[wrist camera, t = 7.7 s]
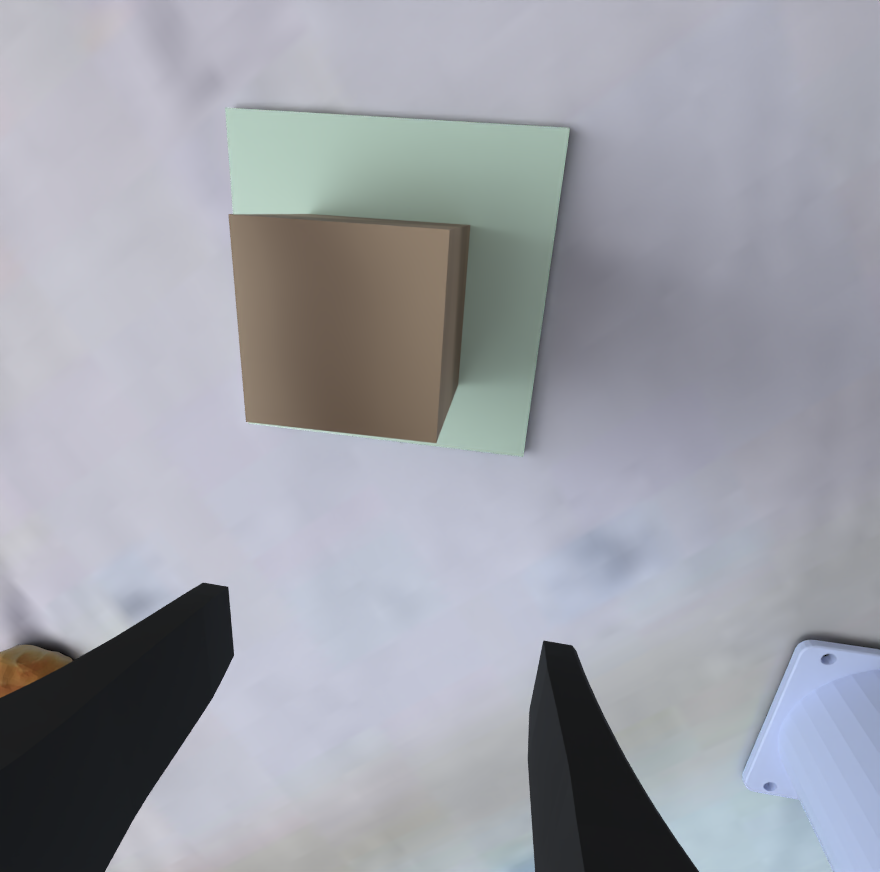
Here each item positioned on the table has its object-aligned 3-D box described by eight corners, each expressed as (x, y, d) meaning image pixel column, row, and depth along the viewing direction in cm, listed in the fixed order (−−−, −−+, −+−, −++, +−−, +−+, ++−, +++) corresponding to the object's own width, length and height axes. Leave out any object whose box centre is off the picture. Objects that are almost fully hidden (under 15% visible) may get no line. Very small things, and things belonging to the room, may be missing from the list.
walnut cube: (470, 224, 16) (449, 229, 12) (458, 385, 18) (436, 443, 14) (309, 213, 17) (228, 214, 12) (314, 370, 19) (246, 422, 14)
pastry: (-16, 615, 27) (-97, 676, 23) (113, 653, 27) (52, 721, 23) (0, 740, 30) (-67, 809, 27) (114, 775, 30) (61, 848, 27)
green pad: (568, 130, 15) (570, 127, 15) (523, 452, 19) (523, 457, 19) (231, 110, 16) (225, 107, 16) (253, 419, 20) (248, 423, 20)
